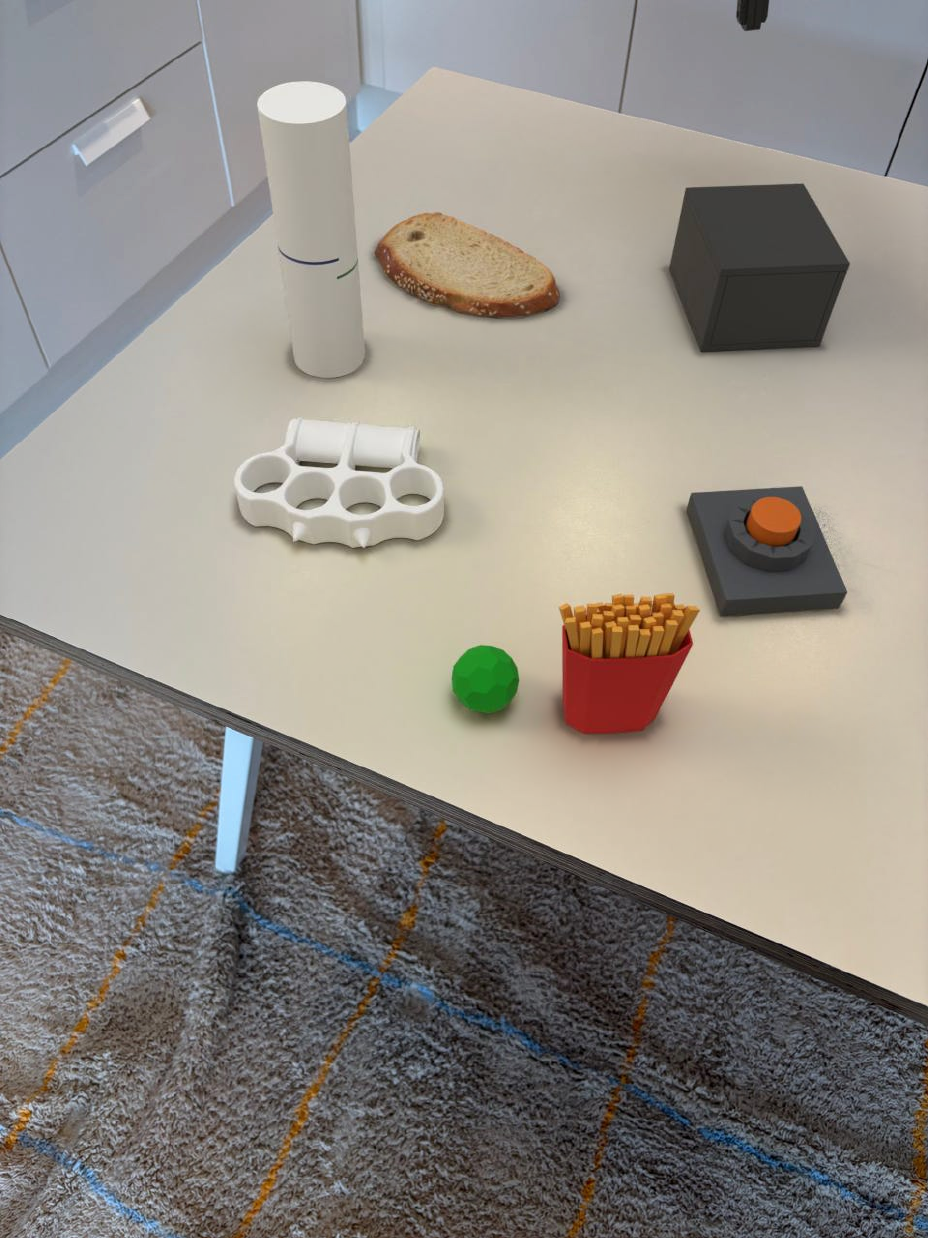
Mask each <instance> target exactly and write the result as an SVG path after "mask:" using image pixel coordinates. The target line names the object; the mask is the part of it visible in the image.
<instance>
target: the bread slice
mask: <svg viewBox="0 0 928 1238" xmlns="http://www.w3.org/2000/svg"><path fill="white" fill-rule="evenodd" d="M374 255H375V258H376V259H377V260H378V261H379V264H380V267H381V269H382V271H383V272H384V274H385V275H386V276H387V277H388V278H389V279H390V281H392V282H393V283H394V284H395V285H396V286H398V287H399V288H401V289H404V290H406V291H407V292H408V294H411V295H413V296H415V297H417V298H418V299H421V300H423V301H425V302H428V303H429V304H431V305H434V306H435V305H437V306H444V307H446V308H449V309H452V310H454V311H456V312H457V313H462V314H467V315H472V316H479V317H480V316H481V317H489V318H501V319H504V318H516V317H527V316H531V315H535V314H539V313H542V312H545V311H547V310H549V309H550V308H552V307H554V306H555V307H556V306H557V303H558V302H559V301H560V297H561V296H560V295H561V293H560V290H559V288H558V285H557V283H556V279H555V277H554V274H553V272H552V271H551V270H550V268H549V267H547V266H546V265H544V264H543V263H542V262H541V261H539V260H537V259H536V257H533V256H532V255H531V254H529V253H525V252H524V251H523V250H522V249H520V248H519V247H517V246H515V245H513V244H511V243H510V242H508V241H506V240H504V239H502V238H501V237H499V236H497V235H496V236H495V235H494V234H493V233H489V232H487V231H486V230H483V229H480V228H478V227H477V226H474V225H472V224H470V223H466V222H464V221H461V220H459V219H456V217H454V216H451V215H447V214H442V212H440V211H436V212H433V213H432V212H430V213H429V212H423V213H421V214H417V215H413V216H411V217H409V218H407V219H405V220H402V221H401V222H399V223H397V224H395V225H394V226H393V227H391V229H390V230H389V231H387V232H386V234H385V235H384V236H383V237H382V238H381V239H380V240H379V242H378V244H377V246H376V248H375V251H374Z"/></svg>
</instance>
